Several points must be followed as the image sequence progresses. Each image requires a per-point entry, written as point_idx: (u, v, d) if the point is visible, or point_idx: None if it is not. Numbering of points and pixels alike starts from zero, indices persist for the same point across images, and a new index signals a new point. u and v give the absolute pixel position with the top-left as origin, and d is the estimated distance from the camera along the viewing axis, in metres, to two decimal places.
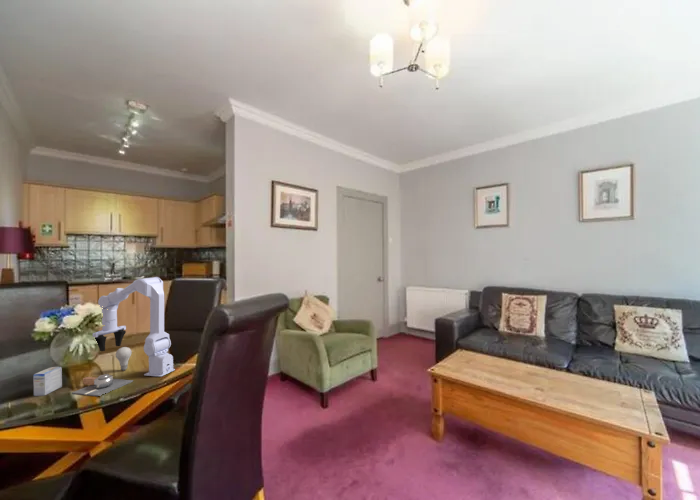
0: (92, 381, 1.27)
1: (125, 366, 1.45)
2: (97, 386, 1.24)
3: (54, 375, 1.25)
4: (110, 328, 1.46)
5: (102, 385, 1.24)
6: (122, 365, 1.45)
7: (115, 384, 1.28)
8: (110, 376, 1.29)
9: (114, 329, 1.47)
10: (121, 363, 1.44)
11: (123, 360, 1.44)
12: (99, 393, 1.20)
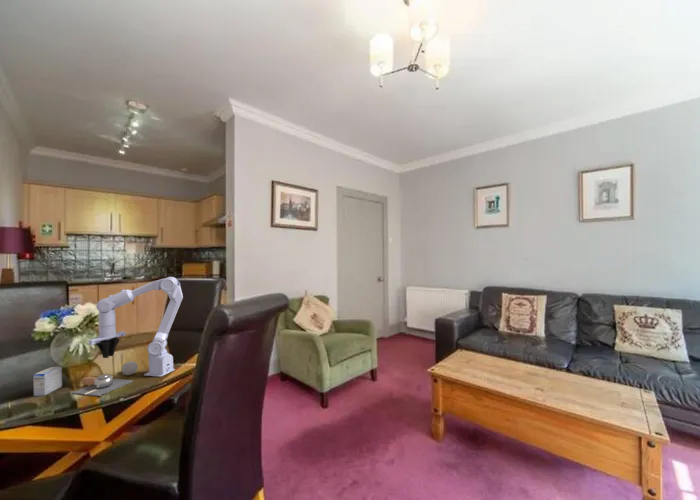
0: (92, 381, 1.27)
1: None
2: (97, 386, 1.24)
3: (54, 375, 1.25)
4: (108, 334, 1.32)
5: (102, 385, 1.24)
6: None
7: (115, 384, 1.28)
8: (110, 376, 1.29)
9: (112, 335, 1.33)
10: None
11: None
12: (99, 393, 1.20)
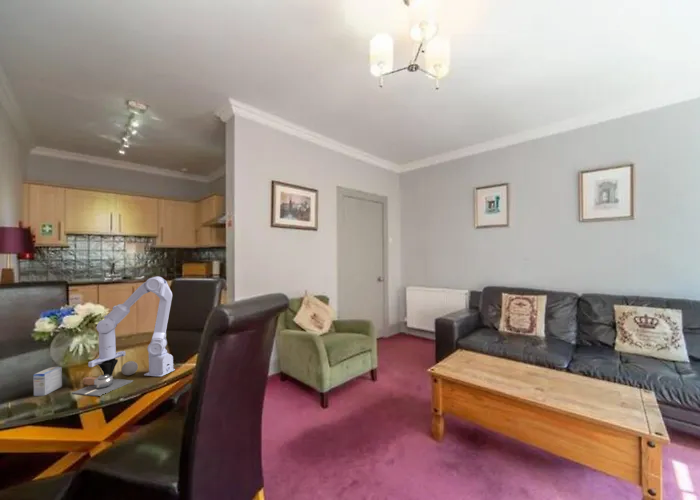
0: (92, 381, 1.27)
1: None
2: (97, 386, 1.24)
3: (54, 375, 1.25)
4: (108, 355, 1.32)
5: (102, 385, 1.24)
6: None
7: (115, 384, 1.28)
8: (110, 376, 1.29)
9: (112, 356, 1.33)
10: None
11: None
12: (99, 393, 1.20)
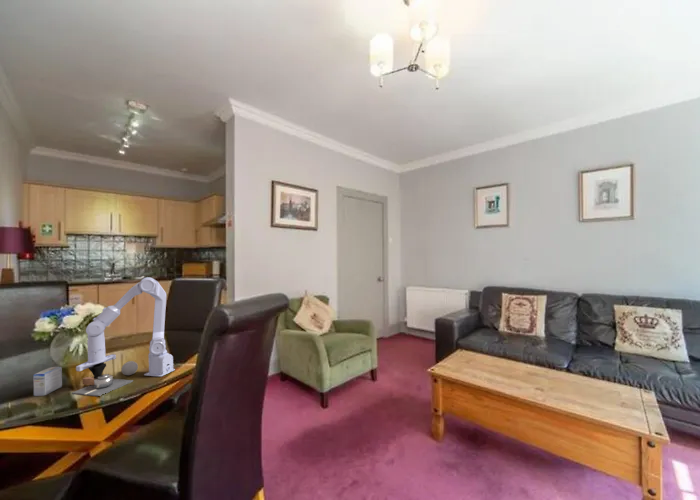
0: (92, 381, 1.27)
1: None
2: (97, 386, 1.24)
3: (54, 375, 1.25)
4: (97, 359, 1.27)
5: (102, 385, 1.24)
6: None
7: (115, 384, 1.28)
8: (110, 376, 1.29)
9: (102, 360, 1.29)
10: None
11: None
12: (99, 393, 1.20)
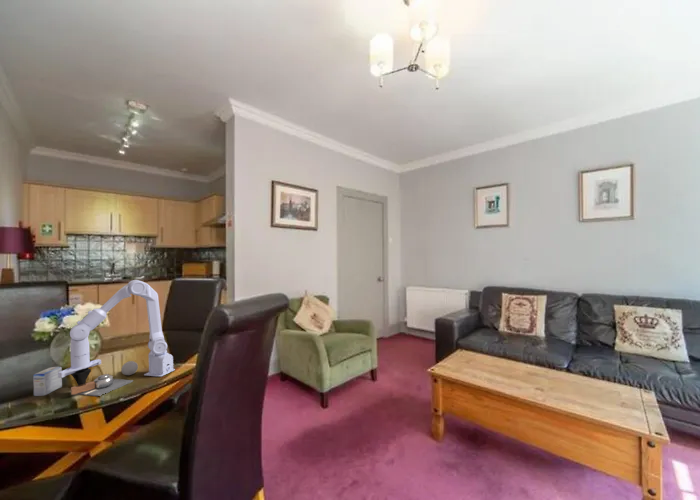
0: (89, 385, 1.23)
1: None
2: (107, 384, 1.26)
3: (54, 375, 1.25)
4: (80, 365, 1.21)
5: (111, 382, 1.27)
6: None
7: (115, 384, 1.28)
8: None
9: (85, 366, 1.23)
10: None
11: None
12: (99, 393, 1.20)
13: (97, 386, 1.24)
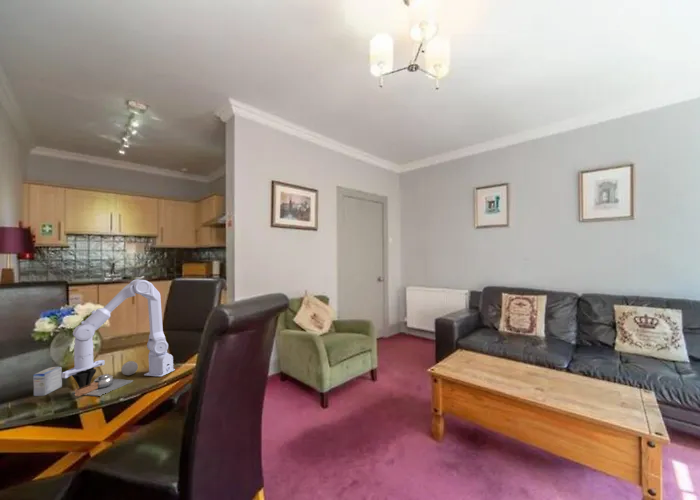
0: (93, 386, 1.22)
1: None
2: (110, 383, 1.27)
3: (54, 375, 1.25)
4: (84, 365, 1.20)
5: (112, 381, 1.28)
6: None
7: (115, 384, 1.28)
8: None
9: (89, 366, 1.21)
10: None
11: None
12: (99, 393, 1.20)
13: (100, 386, 1.24)
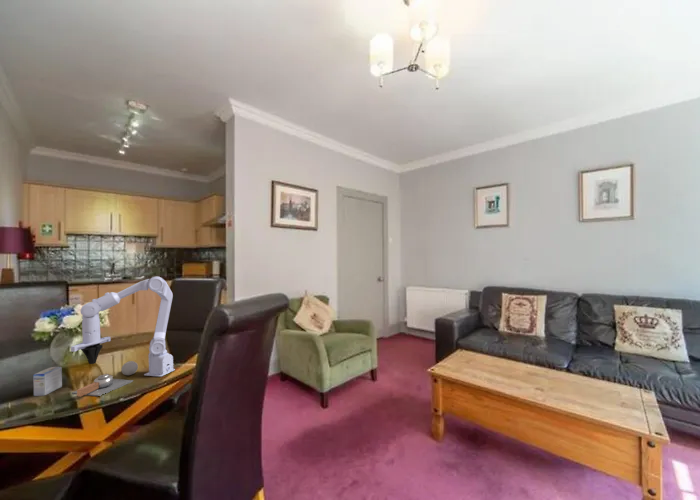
0: (94, 385, 1.22)
1: None
2: (111, 382, 1.27)
3: (54, 375, 1.25)
4: (92, 340, 1.27)
5: (112, 380, 1.29)
6: None
7: (115, 384, 1.28)
8: None
9: (96, 341, 1.28)
10: None
11: None
12: (99, 393, 1.20)
13: (101, 385, 1.24)
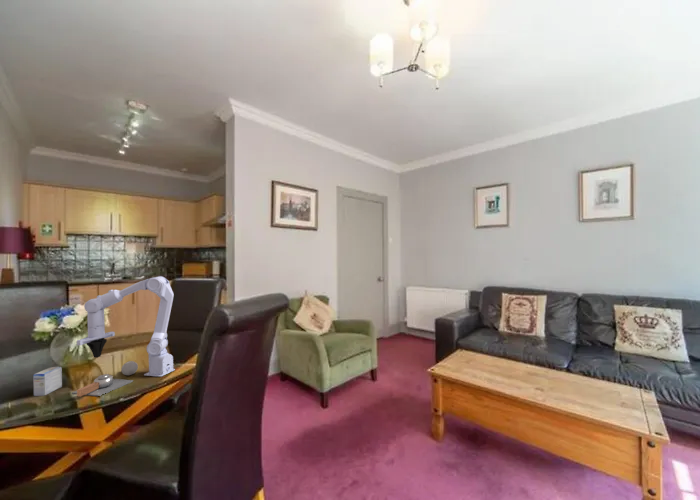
0: (94, 385, 1.22)
1: None
2: (111, 382, 1.27)
3: (54, 375, 1.25)
4: (96, 335, 1.32)
5: (112, 380, 1.29)
6: None
7: (115, 384, 1.28)
8: None
9: (101, 336, 1.34)
10: None
11: None
12: (99, 393, 1.20)
13: (101, 385, 1.24)
